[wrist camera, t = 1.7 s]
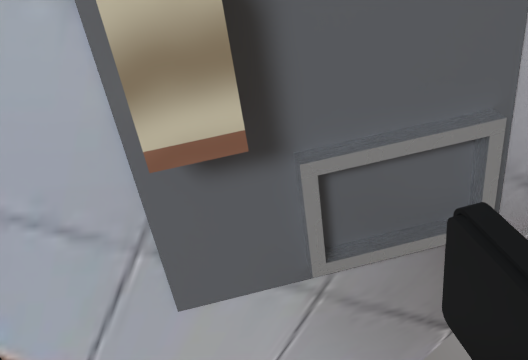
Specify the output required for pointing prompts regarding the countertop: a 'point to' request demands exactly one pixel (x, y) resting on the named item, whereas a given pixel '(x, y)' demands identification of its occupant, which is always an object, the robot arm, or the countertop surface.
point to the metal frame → (387, 147)
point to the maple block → (176, 78)
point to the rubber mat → (322, 131)
